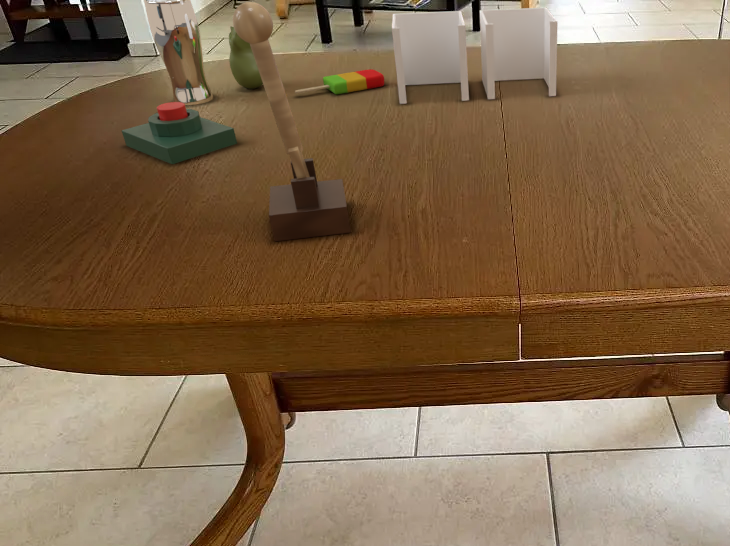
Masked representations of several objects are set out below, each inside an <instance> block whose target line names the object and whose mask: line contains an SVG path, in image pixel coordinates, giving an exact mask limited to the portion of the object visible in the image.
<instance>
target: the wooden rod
mask: <svg viewBox="0 0 730 546" xmlns="http://www.w3.org/2000/svg"><path fill="white" fill-rule="evenodd" d="M232 27H234V29H235V31H236V33H237V34H238V36H239V37H240V38H241V39H243V40H244V41H246V42H248V43H250V46H251V49H252V52H253V55H254V58H255V61H256V64H257V67H258V70H259V73H260V76H261V79H262V82H263V85H262V86H263V87H264V91H265V93H266V96H267V100H268V102H269V105H270V109H271V111H272V115H273V117H274V120H275V123H276V126H277V127H276V128H277V129H278V132H279V135H280V138H281V142H282V144H283V147H284V150H285V153H286V154H287V155H289V159H290V162H291V161H292V164H293V167H294V170H295V173H296V176H297V178H306V177H310V176H309V173H308V170H307V167H306V163H305V160H304V159H305V157H304V154H303V151H304V145H303V143H302V139H301V136H300V134H299V132H298V127H297V125H296V122H295V118H294V116H293V113H292V108H291V106H290V103H289V99H288V96H287V93H286V90H285V86H284V84H283V80H282V78H281V75H280V71H279V68H278V65H277V62H276V59H275V56H274V52H273V50H272V46H271V43H270V40H269V39H270V38H271V36H272V34H273V31H274V21H273V18H272V16H271V14H270V12H269V10H268V9H266V8H265V7H264V6H263V5H261V4H260V3H258V2H254V1H246V2H243V3H241V4H240V5H238V6H237V7H236V8H235V10H234V12H233V15H232Z"/></svg>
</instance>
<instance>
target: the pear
mask: <svg viewBox="0 0 730 546" xmlns="http://www.w3.org/2000/svg"><path fill="white" fill-rule="evenodd" d="M229 28H230V29H229V30H230V32H229V34H228V45H229V48H230V51H229V52H230V53H229V57H228V58H229V60H228V62H229V69H230V71H231V74H232V76H233V78H234V80H235V81H236V82H237V84H238V85H239V86H241V87H242V88H245V89H249V90H250V89H251V90H254V89H258V88H260V87H262V86H264V85H263V82H262V79H261V76H260V73H259V70H258V67H257V64H256V61H255V58H254V55H253V52H252V49H251V46H250V43H248V42H246V41H244V40H243V39H241V38H240V37H239V36H238V34H237V33H236V31H235V29H234V26H233V25H232V26H230V27H229Z"/></svg>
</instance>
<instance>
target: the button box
mask: <svg viewBox="0 0 730 546" xmlns="http://www.w3.org/2000/svg"><path fill="white" fill-rule="evenodd" d="M186 111H187V114H188V117H186V118H183V119H180V120H173V121H161V120H160V117H159V114H158V112H156V113H153V114H152V115H150V116H148V119H147V120H148V122H147V123H143V124H140V125H136V126H132V127H129V128H124V129H122V130H121V133H122V137H123V140H124V143H125V146H126V147H128V148H131V149H133V150H136V151H138V152H140V153H143V154H145V155H148V156H150V157H153V158H155V159H158V160H160V161H163V162H165V163H168V164H171V165H175V164H178V163H181V162H184V161H187V160H190V159H193V158H197V157H199V156H203V155H206V154H209V153H212V152H215V151H218V150H221V149H224V148H225V149H226V148H228V147H231V146H235V145H237V144H238V140H237V137H236V132H235V128H234V127H231V126H228V125H225V124H222V123H219V122H216V121H213V120H210V119H208V118H204V117H202V116H200V112H199V111H198V110H195V109H192V108H186Z"/></svg>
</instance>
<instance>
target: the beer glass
mask: <svg viewBox="0 0 730 546" xmlns="http://www.w3.org/2000/svg"><path fill="white" fill-rule="evenodd" d="M143 2H144V7H145V13H146V17H147V21H148V26H149V29H150V32H151V37H152V40H153V41H154V44H155V47H156V49H157V51H158V53H159V55H160V58H161V60H162V62H163V64H164V66H165V69H166V71H167V74H168V76H169V80H170V82H171V88H172V89H171V90H172V97H173V102H181V103H184V104H185V106H197V105H202V104H205V103H209V102H211V101H213V99H214V95H213V92H212V89H211V87H210V86H209V83H208V80H207V77H206V74H205V67H204V55H203V44H202V38H201V37H202V36H201V31H200V27H199V23H198V19H197V16H196V13H195V9H194V7H193V4H192V0H143Z"/></svg>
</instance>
